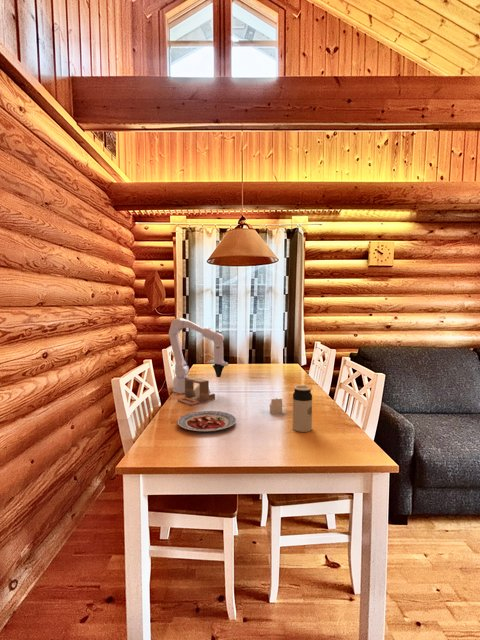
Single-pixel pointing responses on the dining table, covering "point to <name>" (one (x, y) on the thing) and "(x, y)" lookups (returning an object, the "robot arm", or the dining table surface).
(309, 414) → the travel mug
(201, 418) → the ceramic plate
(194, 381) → the tunnel lane
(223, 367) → the robot arm
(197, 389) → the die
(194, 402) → the trap pit
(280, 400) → the architectural model
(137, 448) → the dining table surface
